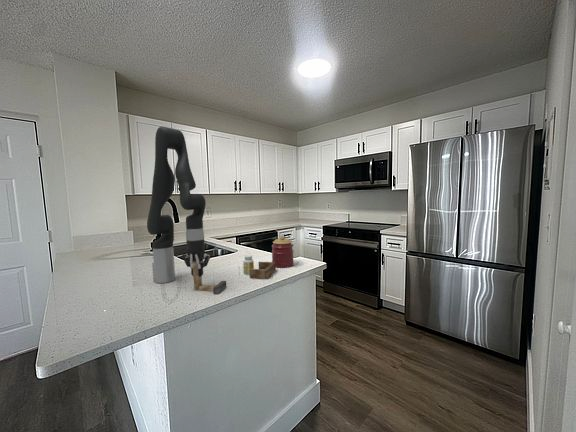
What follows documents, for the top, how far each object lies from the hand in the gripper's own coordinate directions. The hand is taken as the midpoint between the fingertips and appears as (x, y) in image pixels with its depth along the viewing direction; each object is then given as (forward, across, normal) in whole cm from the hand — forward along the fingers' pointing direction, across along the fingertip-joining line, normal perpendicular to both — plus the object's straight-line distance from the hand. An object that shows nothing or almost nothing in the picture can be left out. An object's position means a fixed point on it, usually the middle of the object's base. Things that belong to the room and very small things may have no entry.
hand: (197, 275), depth 112 cm
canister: (+6, +29, +43) cm, 52 cm away
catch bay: (+6, +23, +25) cm, 34 cm away
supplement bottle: (+6, +15, +25) cm, 30 cm away
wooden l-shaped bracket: (+6, +5, 0) cm, 8 cm away
